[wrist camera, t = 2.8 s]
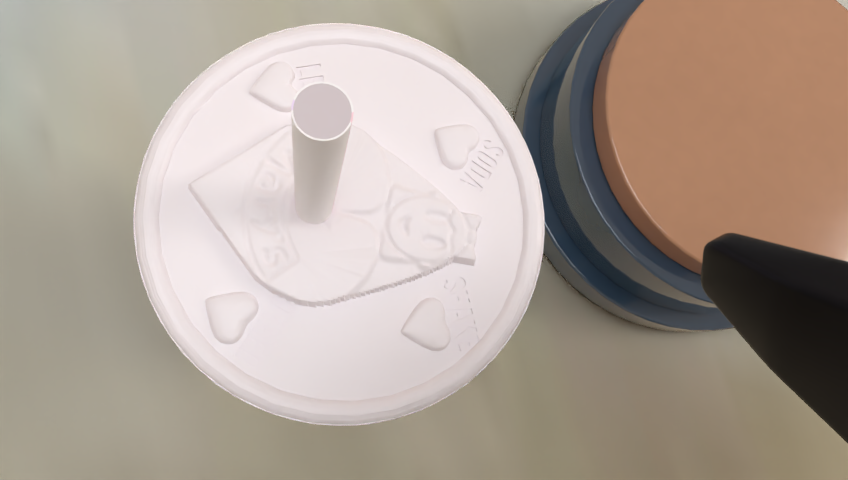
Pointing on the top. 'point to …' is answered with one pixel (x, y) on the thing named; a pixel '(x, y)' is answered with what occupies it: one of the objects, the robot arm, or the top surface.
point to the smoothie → (339, 224)
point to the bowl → (687, 144)
